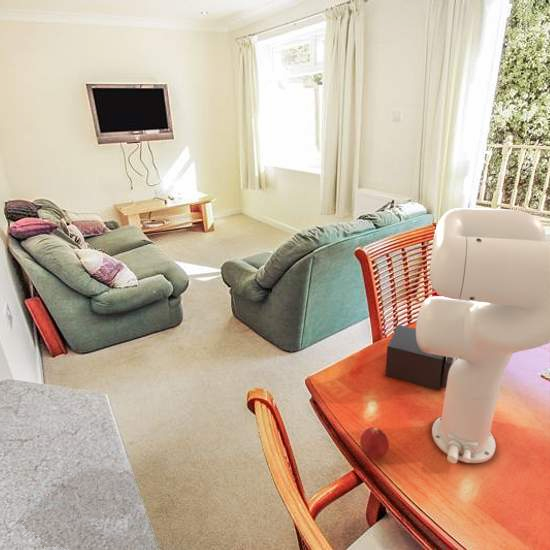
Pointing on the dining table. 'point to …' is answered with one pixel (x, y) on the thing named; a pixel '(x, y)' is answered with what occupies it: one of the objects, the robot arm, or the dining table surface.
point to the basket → (447, 370)
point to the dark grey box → (413, 360)
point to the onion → (374, 443)
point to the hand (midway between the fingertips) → (462, 361)
